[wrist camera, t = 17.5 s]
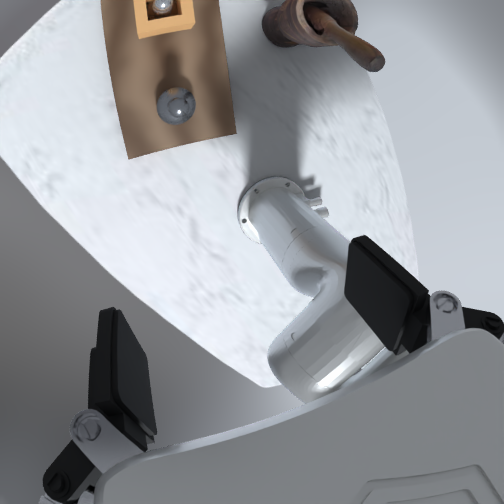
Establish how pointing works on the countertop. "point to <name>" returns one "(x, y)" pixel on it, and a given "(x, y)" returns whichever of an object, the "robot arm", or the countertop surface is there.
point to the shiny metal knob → (176, 105)
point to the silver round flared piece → (161, 9)
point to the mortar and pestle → (321, 28)
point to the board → (168, 77)
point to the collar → (163, 19)
